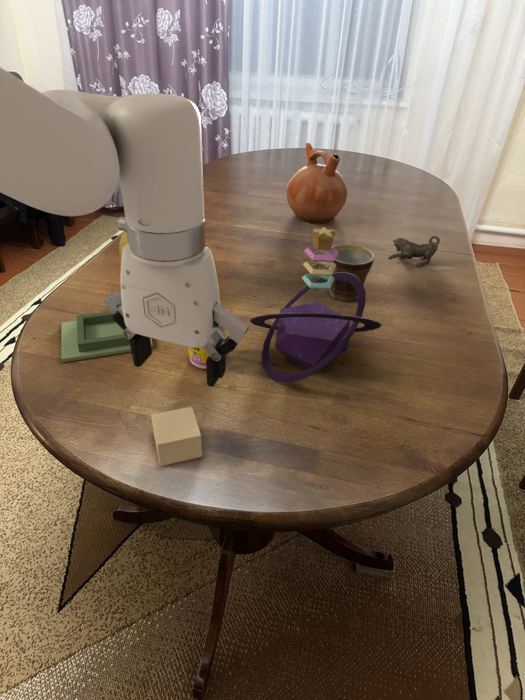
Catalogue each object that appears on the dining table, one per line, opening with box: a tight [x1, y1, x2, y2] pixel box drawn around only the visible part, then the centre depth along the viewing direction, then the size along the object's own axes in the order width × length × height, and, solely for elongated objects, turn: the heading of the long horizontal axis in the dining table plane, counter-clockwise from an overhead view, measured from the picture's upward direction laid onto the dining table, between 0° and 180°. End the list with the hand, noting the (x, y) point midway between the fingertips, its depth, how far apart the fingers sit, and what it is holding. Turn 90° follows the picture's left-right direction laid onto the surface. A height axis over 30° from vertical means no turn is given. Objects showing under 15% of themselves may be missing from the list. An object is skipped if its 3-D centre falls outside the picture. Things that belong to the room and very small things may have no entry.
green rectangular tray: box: [60, 310, 154, 363], centre depth 89 cm, size 16×12×3 cm
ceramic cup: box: [315, 243, 375, 302], centre depth 103 cm, size 13×10×10 cm
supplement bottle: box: [188, 325, 227, 370], centre depth 81 cm, size 7×7×13 cm
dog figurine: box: [387, 235, 441, 268], centre depth 119 cm, size 12×6×7 cm, turn 82°
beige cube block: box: [150, 406, 203, 467], centre depth 67 cm, size 6×6×4 cm
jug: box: [286, 142, 348, 224], centre depth 138 cm, size 18×18×20 cm
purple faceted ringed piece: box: [249, 226, 382, 384], centre depth 79 cm, size 22×21×25 cm
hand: (178, 369), depth 57 cm, fingers open, 9 cm apart
